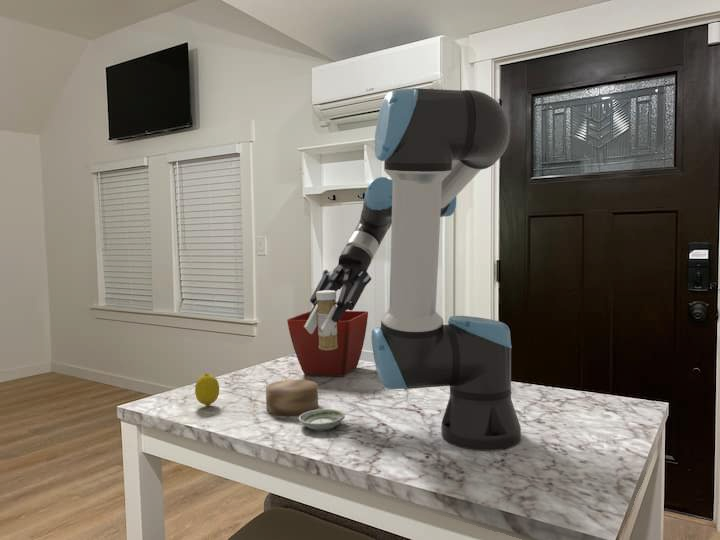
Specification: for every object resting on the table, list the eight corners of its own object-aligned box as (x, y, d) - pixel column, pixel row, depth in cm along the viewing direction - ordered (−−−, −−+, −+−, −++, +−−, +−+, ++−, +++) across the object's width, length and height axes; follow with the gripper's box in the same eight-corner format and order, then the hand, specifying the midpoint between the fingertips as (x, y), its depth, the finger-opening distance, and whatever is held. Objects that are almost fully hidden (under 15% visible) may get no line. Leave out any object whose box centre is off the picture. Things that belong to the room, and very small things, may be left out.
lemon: (213, 410, 123) (211, 376, 123) (191, 409, 124) (189, 376, 124) (223, 403, 129) (222, 370, 128) (202, 402, 130) (201, 370, 129)
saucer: (333, 416, 118) (333, 405, 118) (352, 429, 109) (352, 418, 109) (292, 424, 114) (291, 413, 114) (308, 438, 105) (308, 426, 105)
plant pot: (287, 377, 153) (285, 318, 152) (313, 362, 171) (312, 310, 170) (350, 381, 147) (348, 320, 146) (370, 365, 165) (369, 311, 164)
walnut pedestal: (328, 404, 126) (328, 383, 126) (294, 419, 116) (293, 396, 116) (290, 397, 133) (290, 377, 132) (255, 410, 123) (254, 388, 123)
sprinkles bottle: (341, 349, 122) (339, 291, 121) (323, 351, 120) (321, 292, 119) (332, 345, 126) (330, 289, 125) (315, 348, 124) (313, 290, 123)
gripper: (393, 264, 129) (354, 344, 117) (338, 263, 139) (296, 337, 127) (380, 243, 124) (338, 324, 112) (324, 244, 135) (280, 318, 123)
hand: (316, 331), depth 120 cm, fingers closed on sprinkles bottle, 4 cm apart
